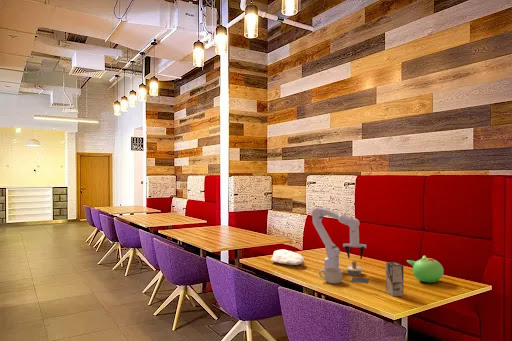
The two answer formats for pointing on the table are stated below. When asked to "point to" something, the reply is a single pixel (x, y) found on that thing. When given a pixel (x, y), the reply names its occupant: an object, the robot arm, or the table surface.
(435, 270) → the green teapot
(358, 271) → the bowl
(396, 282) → the coffee box
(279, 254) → the crumpled cloth
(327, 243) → the robot arm
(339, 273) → the teacup
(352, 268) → the lid
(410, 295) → the table surface
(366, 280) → the mat
